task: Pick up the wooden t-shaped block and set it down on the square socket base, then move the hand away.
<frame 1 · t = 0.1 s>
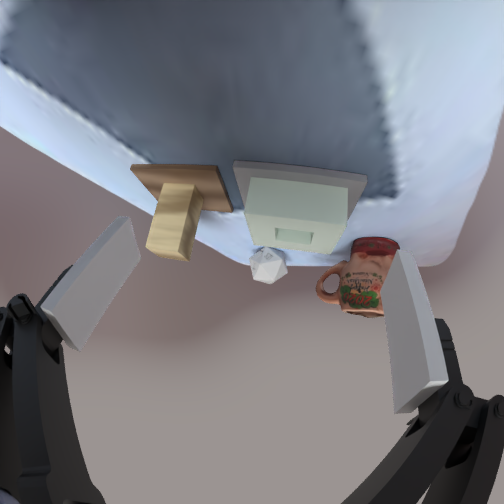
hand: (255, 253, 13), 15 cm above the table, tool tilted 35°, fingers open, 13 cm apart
die: (271, 249, 66), on the table
square socket base: (298, 197, 39), on the table
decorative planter: (367, 243, 52), on the table
wooden t-shaped block: (185, 185, 41), on the table
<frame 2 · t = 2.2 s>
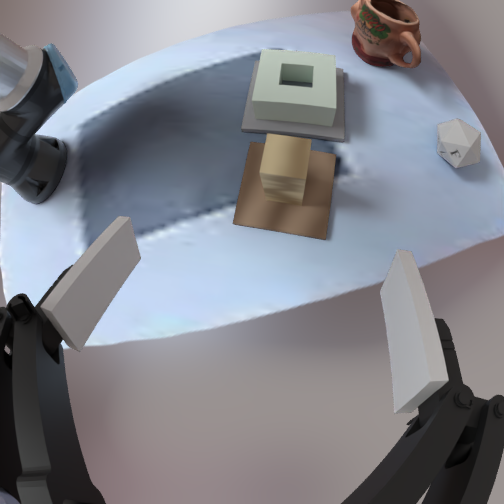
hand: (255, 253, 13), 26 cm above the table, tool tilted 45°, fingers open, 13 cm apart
die: (448, 152, 37), on the table
square socket base: (296, 97, 41), on the table
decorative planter: (379, 58, 41), on the table
wooden t-shaped block: (286, 188, 40), on the table
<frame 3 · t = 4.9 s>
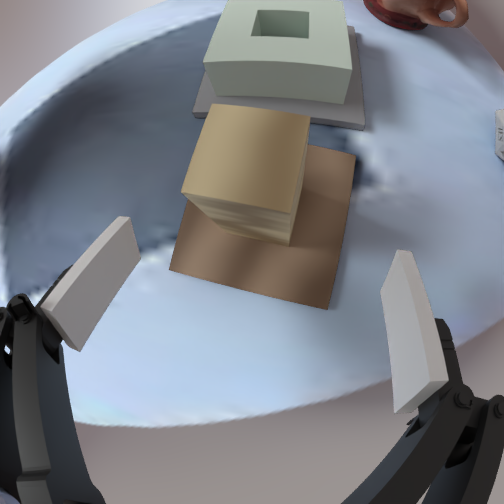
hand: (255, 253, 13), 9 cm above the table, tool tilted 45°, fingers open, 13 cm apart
square socket base: (284, 63, 24), on the table
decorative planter: (401, 20, 24), on the table
wooden t-shaped block: (265, 212, 23), on the table
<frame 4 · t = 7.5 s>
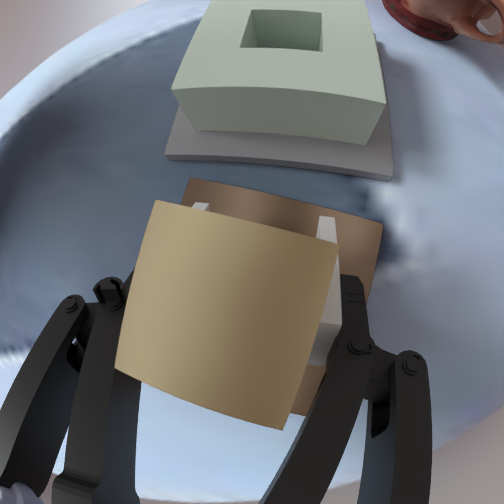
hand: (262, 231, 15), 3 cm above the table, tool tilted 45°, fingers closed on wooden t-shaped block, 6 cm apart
square socket base: (286, 81, 19), on the table
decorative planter: (426, 27, 19), on the table
wooden t-shaped block: (258, 299, 18), on the table, touching gripper
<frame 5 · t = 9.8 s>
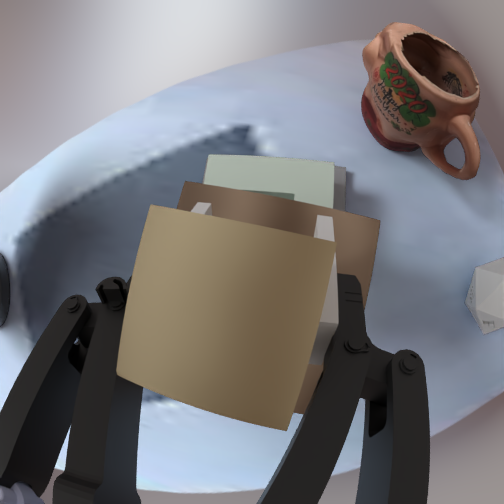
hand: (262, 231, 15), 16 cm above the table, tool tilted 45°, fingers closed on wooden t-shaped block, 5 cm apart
die: (479, 295, 26), on the table
square socket base: (268, 231, 30), on the table
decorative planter: (401, 132, 30), on the table
wooden t-shaped block: (258, 300, 18), point 12 cm above the table, touching gripper
when the fingers open (11 cm above the table, at t = 12.2 s): wooden t-shaped block drops 1 cm, resting on square socket base.
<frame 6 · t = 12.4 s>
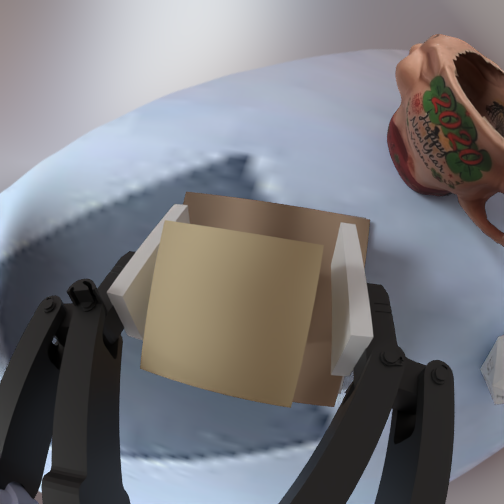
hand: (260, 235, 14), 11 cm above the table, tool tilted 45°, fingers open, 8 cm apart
die: (495, 359, 21), on the table
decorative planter: (431, 170, 24), on the table
wooden t-shaped block: (260, 299, 19), point 6 cm above the table, touching square socket base
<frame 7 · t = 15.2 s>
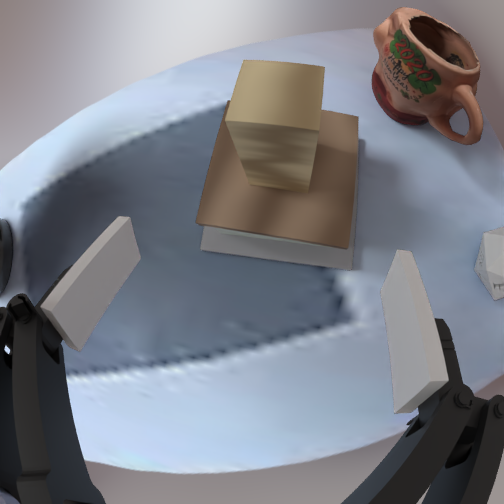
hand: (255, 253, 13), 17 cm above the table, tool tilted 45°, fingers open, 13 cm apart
die: (487, 264, 26), on the table
square socket base: (284, 189, 30), on the table
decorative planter: (409, 109, 30), on the table
wooden t-shaped block: (283, 167, 24), point 6 cm above the table, touching square socket base
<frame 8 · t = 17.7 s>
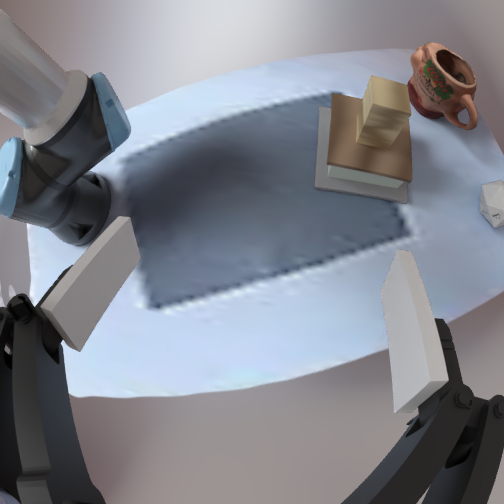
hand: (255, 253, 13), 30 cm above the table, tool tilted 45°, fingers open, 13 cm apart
die: (486, 208, 39), on the table
square socket base: (362, 152, 43), on the table
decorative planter: (430, 108, 43), on the table
wooden t-shaped block: (370, 136, 37), point 6 cm above the table, touching square socket base
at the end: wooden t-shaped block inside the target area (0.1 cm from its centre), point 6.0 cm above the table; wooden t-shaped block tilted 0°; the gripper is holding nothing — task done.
